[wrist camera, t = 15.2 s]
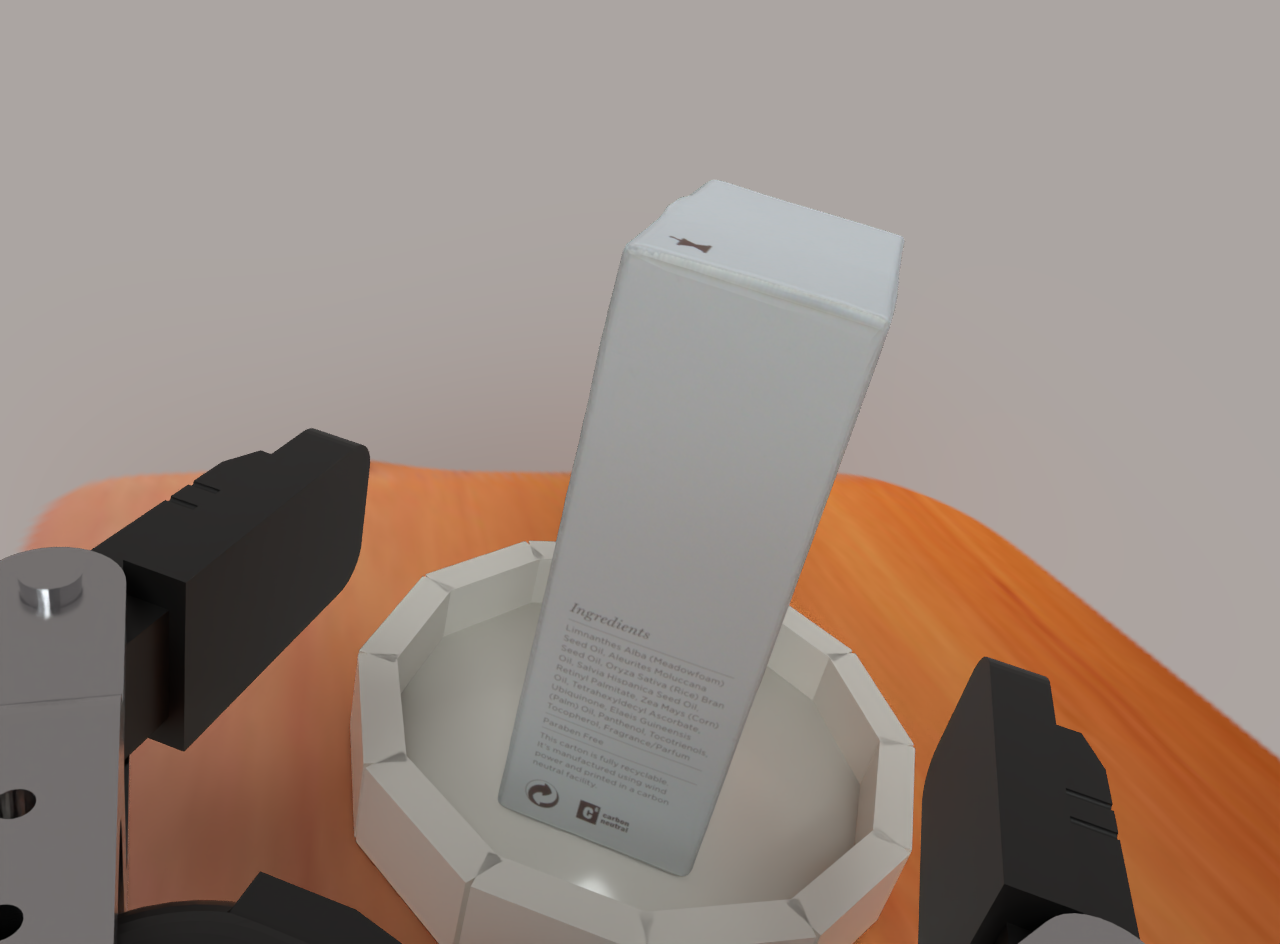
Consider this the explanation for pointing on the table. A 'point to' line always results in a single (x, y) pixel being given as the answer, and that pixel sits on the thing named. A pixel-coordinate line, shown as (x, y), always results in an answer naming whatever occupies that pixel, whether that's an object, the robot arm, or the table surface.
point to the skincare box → (693, 509)
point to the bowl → (580, 869)
